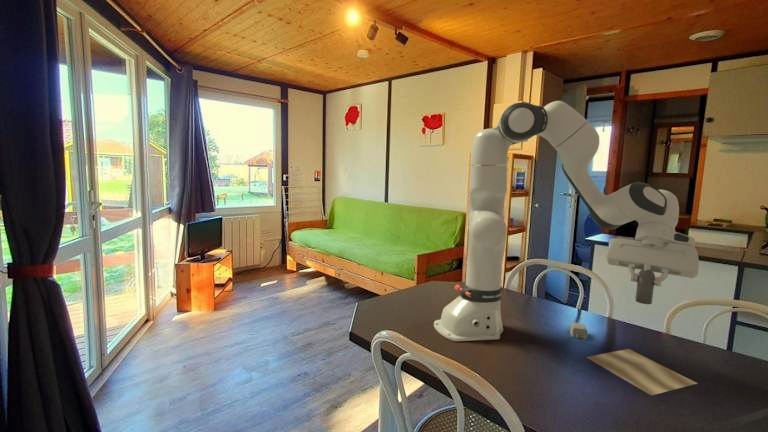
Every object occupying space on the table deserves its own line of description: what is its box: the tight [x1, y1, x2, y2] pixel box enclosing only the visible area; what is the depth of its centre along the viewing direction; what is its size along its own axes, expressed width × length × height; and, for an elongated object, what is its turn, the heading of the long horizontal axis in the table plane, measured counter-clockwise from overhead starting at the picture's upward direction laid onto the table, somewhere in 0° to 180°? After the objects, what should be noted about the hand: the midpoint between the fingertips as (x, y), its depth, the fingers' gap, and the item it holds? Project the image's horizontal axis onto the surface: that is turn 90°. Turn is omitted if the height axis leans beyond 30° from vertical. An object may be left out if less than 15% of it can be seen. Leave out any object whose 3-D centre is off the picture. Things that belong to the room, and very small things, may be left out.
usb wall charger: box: [569, 322, 588, 340], centre depth 115 cm, size 4×7×4 cm, turn 161°
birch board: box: [586, 348, 699, 396], centre depth 97 cm, size 16×18×1 cm
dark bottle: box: [635, 264, 656, 305], centre depth 98 cm, size 4×4×10 cm
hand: (645, 282), depth 97 cm, fingers closed on dark bottle, 4 cm apart
